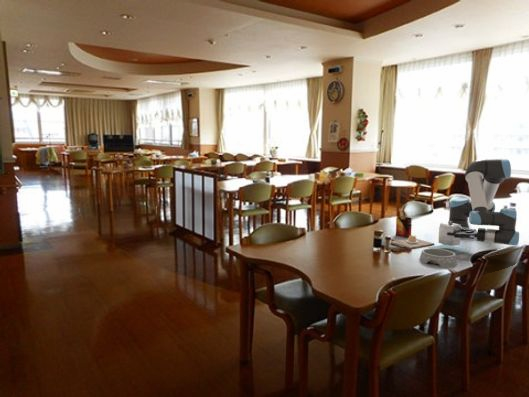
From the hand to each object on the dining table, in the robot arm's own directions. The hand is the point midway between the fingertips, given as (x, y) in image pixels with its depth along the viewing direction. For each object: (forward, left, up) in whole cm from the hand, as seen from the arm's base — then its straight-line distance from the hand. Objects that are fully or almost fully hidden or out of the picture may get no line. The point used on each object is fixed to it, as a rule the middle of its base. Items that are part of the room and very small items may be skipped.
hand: (442, 230), depth 224 cm
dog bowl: (+22, +15, -12) cm, 29 cm away
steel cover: (-2, +3, -7) cm, 8 cm away
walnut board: (+8, -15, -11) cm, 20 cm away
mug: (-6, -32, -12) cm, 35 cm away
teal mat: (-2, +3, -11) cm, 12 cm away
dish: (+8, -15, -10) cm, 19 cm away
